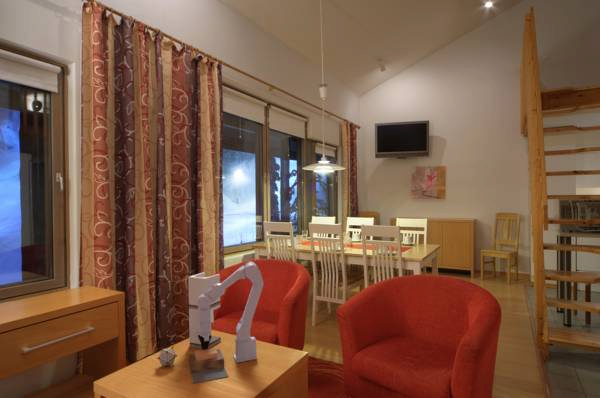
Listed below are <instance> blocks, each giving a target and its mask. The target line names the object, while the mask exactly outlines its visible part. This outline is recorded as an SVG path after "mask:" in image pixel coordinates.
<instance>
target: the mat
mask: <svg viewBox="0 0 600 398" xmlns="http://www.w3.org/2000/svg"><path fill="white" fill-rule="evenodd" d="M190 375H191V378H192V383H193V384H194V385H195V384H199V383H206V382H210V381H215V380H221V379H224V378H225V379H226V378H229V374H228V372H227V370H226V367H225V366H224V367H221V368H216V369H211V370H205V371H200V372H195V373H191V372H190Z"/></svg>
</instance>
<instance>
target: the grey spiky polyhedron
mask: <svg viewBox="0 0 600 398" xmlns="http://www.w3.org/2000/svg"><path fill="white" fill-rule="evenodd" d="M160 351H161V352H160V354H159V356H158V357H157V358H156V359H157V360H159V363H160V365H161V366H160V368H161V369H162V368H163V367H168V366H172V367H175V366H174V362H175V359H176V357H178V355H177V354H176V353H175V351H174V346H172V347H169V348H163V347H160Z"/></svg>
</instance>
